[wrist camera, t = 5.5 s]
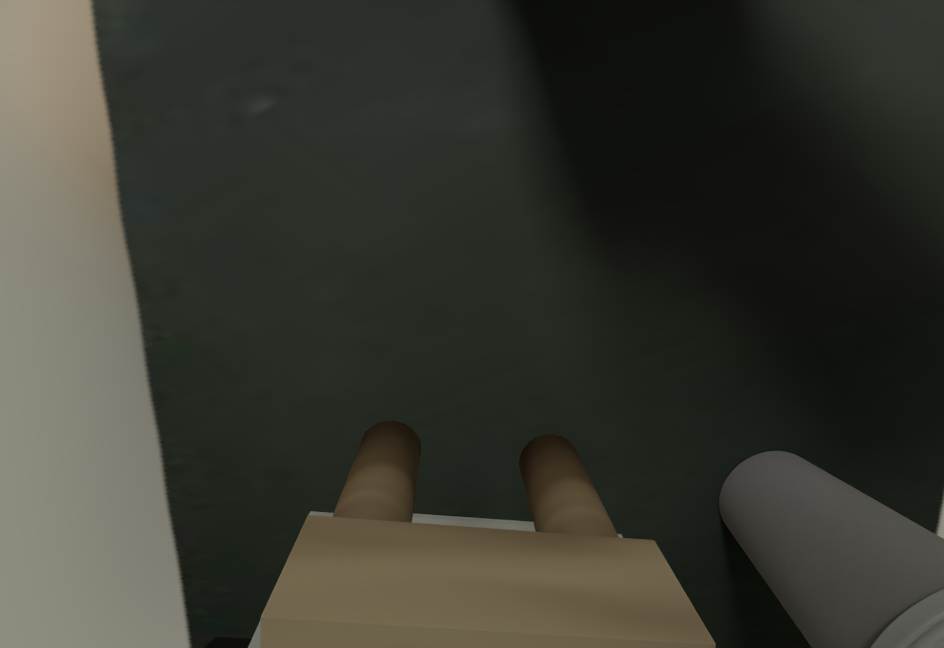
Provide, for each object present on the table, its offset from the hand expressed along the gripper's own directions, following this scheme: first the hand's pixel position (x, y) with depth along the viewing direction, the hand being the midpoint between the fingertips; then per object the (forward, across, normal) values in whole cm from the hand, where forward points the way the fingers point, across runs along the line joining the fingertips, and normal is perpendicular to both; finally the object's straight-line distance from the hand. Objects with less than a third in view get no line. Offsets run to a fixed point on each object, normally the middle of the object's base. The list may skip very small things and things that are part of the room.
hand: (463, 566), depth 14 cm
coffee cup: (+16, +21, -6) cm, 27 cm away
